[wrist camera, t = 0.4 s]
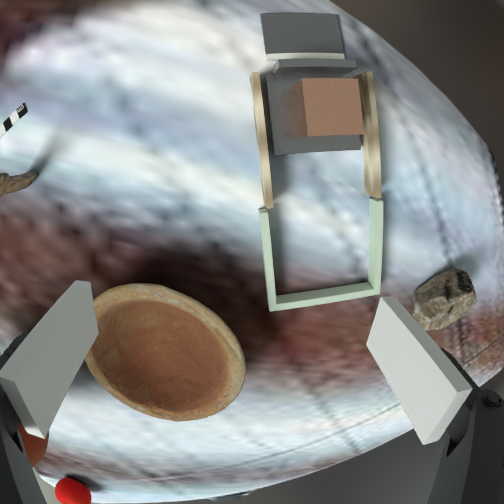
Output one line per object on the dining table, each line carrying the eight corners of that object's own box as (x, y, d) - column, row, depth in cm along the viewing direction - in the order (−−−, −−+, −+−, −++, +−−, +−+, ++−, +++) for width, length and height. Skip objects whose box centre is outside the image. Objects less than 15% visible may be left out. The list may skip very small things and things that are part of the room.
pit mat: (260, 15, 31) (261, 13, 30) (335, 16, 31) (337, 14, 31) (266, 61, 33) (267, 59, 33) (343, 60, 34) (344, 59, 33)
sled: (264, 69, 33) (272, 51, 26) (348, 68, 34) (375, 54, 26) (273, 154, 37) (284, 158, 30) (357, 149, 37) (385, 152, 30)
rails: (258, 209, 40) (259, 213, 38) (375, 197, 40) (383, 200, 38) (267, 303, 44) (269, 311, 42) (373, 286, 45) (379, 293, 43)
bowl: (136, 229, 40) (117, 250, 32) (275, 322, 46) (283, 355, 38) (75, 340, 45) (56, 369, 38) (191, 407, 51) (187, 441, 44)
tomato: (55, 476, 63) (47, 500, 53) (68, 469, 61) (59, 497, 51) (84, 492, 66) (78, 516, 57) (99, 487, 64) (93, 514, 54)
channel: (250, 78, 34) (252, 72, 31) (361, 76, 34) (372, 71, 31) (263, 203, 40) (266, 208, 36) (370, 192, 40) (381, 197, 37)
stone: (399, 299, 46) (420, 318, 39) (453, 256, 44) (478, 269, 37) (413, 329, 47) (433, 349, 41) (463, 287, 46) (487, 302, 39)
